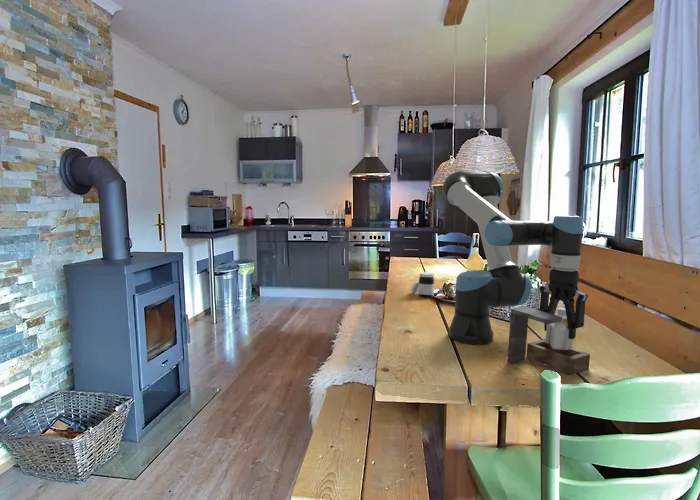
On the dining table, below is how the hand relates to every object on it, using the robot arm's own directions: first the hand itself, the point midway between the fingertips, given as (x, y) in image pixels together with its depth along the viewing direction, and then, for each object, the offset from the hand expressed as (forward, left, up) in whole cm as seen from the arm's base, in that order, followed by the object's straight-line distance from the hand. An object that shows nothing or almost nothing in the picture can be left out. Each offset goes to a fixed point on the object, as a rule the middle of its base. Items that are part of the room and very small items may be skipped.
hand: (558, 345), depth 117 cm
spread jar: (-84, +16, -6) cm, 86 cm away
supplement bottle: (-15, +25, -6) cm, 30 cm away
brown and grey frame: (0, -4, -6) cm, 7 cm away
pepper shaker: (0, 0, -1) cm, 1 cm away
